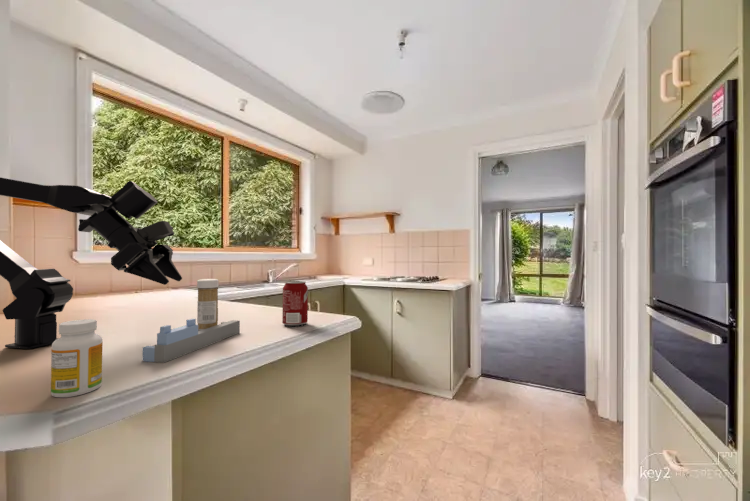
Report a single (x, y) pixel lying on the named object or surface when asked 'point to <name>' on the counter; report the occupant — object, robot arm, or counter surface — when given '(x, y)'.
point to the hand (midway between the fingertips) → (174, 281)
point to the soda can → (295, 303)
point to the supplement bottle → (76, 359)
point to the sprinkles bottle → (207, 303)
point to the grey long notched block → (186, 339)
